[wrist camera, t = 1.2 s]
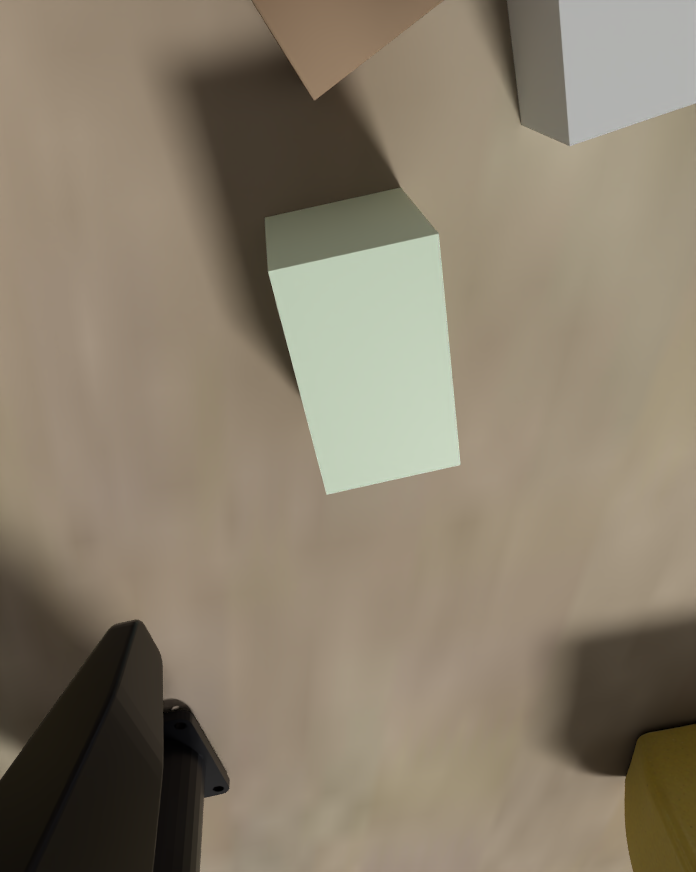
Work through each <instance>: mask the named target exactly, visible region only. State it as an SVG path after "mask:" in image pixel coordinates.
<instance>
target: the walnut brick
mask: <svg viewBox="0 0 696 872" xmlns="http://www.w3.org/2000/svg"><path fill="white" fill-rule="evenodd" d="M251 1H252V2H253V4H254V5H255V7H256V9H257V10H258V12H259V14H260V15H261V17H262V18H263V20H264V22H265V23H266V25H267V26H268V28H269V30H270V31H271V33H272V35H273V36H274V38H275V39H276V41H277V43H278V44H279V46H280V48H281V49H282V51H283V52H284V54H285V56H286V57H287V59H288V60H289V62H290V64H291V65H292V67H293V69H294V70H295V72H296V73H297V75H298V77H299V78H300V80H301V82H302V83H303V85H304V86H305V88H306V89H307V91H308V92H309V94H310V95H311V97H312V98H313V100H314V101H315V100H316V99H317V98H319V97H320V96H321V95H322V94H324V93H325V92H326V91H328V90H329V89H330V88H331V87H333V86H334V85H335V84H337V83H338V82H339V81H340V80H342V79H343V78H344V77H346V76H347V75H348V74H349V73H351V72H352V71H353V70H355V69H356V68H357V67H358V66H360V65H361V64H362V63H364V62H365V61H366V60H367V59H369V58H370V57H371V56H373V55H374V54H375V53H377V52H378V51H379V50H380V49H382V48H383V47H384V46H386V45H387V44H388V43H389V42H391V41H392V40H393V39H395V38H396V37H397V36H398V35H400V34H401V33H402V32H404V31H405V30H406V29H407V28H409V27H410V26H411V25H413V24H414V23H415V22H416V21H418V20H419V19H420V18H422V17H423V16H424V15H425V14H427V13H428V12H429V11H431V10H432V9H433V8H434V7H436V6H437V5H438V4H440V3H441V2H442V1H443V0H251Z"/></svg>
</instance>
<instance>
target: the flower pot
mask: <svg viewBox="0 0 696 872" xmlns="http://www.w3.org/2000/svg"><path fill="white" fill-rule="evenodd" d="M625 827H626V837H627V843H628V850H629V855H630V860H631V864H632V868H633V872H696V724H692V725H687V726H682V727H677V728H672V729H666V730H661V731H655V732H650V733H646V734H644V735H642V736H640V737H639V739H638V740H637V743H636V747H635V750H634V754H633V757H632V761H631V764H630V767H629V770H628V773H627V776H626V779H625Z"/></svg>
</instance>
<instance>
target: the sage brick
mask: <svg viewBox="0 0 696 872" xmlns="http://www.w3.org/2000/svg"><path fill="white" fill-rule="evenodd" d="M265 232H266V248H267V264H268V273H269V277H270V281H271V285H272V289H273V292H274V296H275V300H276V304H277V308H278V311H279V315H280V319H281V323H282V327H283V330H284V334H285V338H286V342H287V346H288V349H289V353H290V357H291V361H292V365H293V368H294V372H295V376H296V380H297V384H298V388H299V391H300V395H301V399H302V403H303V407H304V410H305V414H306V418H307V422H308V426H309V429H310V433H311V437H312V441H313V445H314V448H315V452H316V456H317V460H318V464H319V467H320V471H321V475H322V479H323V483H324V486H325V490H326V494H332V493H336V492H341V491H345V490H350V489H354V488H359V487H363V486H368V485H372V484H377V483H381V482H386V481H390V480H395V479H399V478H404V477H408V476H413V475H417V474H422V473H426V472H431V471H435V470H440V469H444V468H449V467H453V466H458V465H460V455H459V444H458V433H457V423H456V412H455V402H454V391H453V380H452V370H451V359H450V349H449V338H448V327H447V317H446V306H445V296H444V285H443V274H442V264H441V253H440V243H439V234H438V232H437V231H436V230H435V229H434V227H433V226H432V225H431V224H430V223H429V221H428V220H427V219H426V218H425V216H424V215H423V214H422V213H421V212H420V210H419V209H418V208H417V207H416V205H415V204H414V203H413V202H412V201H411V199H410V198H409V197H408V196H407V194H406V193H405V192H404V191H403V190H402V188H396V189H392V190H387V191H382V192H378V193H373V194H369V195H364V196H360V197H355V198H351V199H346V200H342V201H337V202H333V203H328V204H324V205H319V206H315V207H310V208H306V209H301V210H297V211H292V212H288V213H283V214H279V215H274V216H270V217H265Z"/></svg>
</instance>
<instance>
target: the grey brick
mask: <svg viewBox="0 0 696 872" xmlns="http://www.w3.org/2000/svg"><path fill="white" fill-rule="evenodd" d="M507 6H508V15H509V23H510V32H511V40H512V49H513V58H514V66H515V75H516V83H517V92H518V100H519V109H520V117H521V125H523V126H525V127H527V128H530V129H532V130H534V131H536V132H539V133H541V134H543V135H546V136H548V137H550V138H553V139H555V140H557V141H559V142H562V143H564V144H566V145H569V146H571V145H574V144H577V143H580V142H583V141H586V140H589V139H592V138H595V137H598V136H601V135H604V134H606V133H609V132H612V131H615V130H618V129H621V128H624V127H627V126H630V125H633V124H636V123H639V122H642V121H645V120H648V119H651V118H654V117H656V116H659V115H662V114H665V113H668V112H671V111H674V110H677V109H680V108H683V107H686V106H689V105H692V104H695V103H696V0H507Z"/></svg>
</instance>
